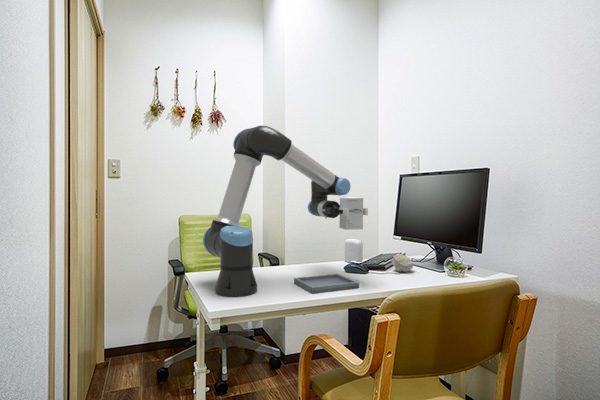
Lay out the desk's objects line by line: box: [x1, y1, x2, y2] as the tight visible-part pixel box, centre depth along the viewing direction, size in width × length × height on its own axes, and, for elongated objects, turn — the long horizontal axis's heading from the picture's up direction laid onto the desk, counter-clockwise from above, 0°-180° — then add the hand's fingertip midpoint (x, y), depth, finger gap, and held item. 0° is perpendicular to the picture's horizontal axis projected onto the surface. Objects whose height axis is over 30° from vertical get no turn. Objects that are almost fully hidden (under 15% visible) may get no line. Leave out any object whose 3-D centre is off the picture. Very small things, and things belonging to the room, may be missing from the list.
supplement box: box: [338, 196, 364, 231], centre depth 151 cm, size 7×7×13 cm
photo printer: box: [344, 238, 364, 263], centre depth 195 cm, size 10×4×12 cm, turn 39°
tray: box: [293, 273, 360, 295], centre depth 147 cm, size 20×16×2 cm
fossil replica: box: [391, 252, 415, 273], centre depth 176 cm, size 12×8×10 cm
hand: (357, 212), depth 147 cm, fingers closed on supplement box, 8 cm apart
